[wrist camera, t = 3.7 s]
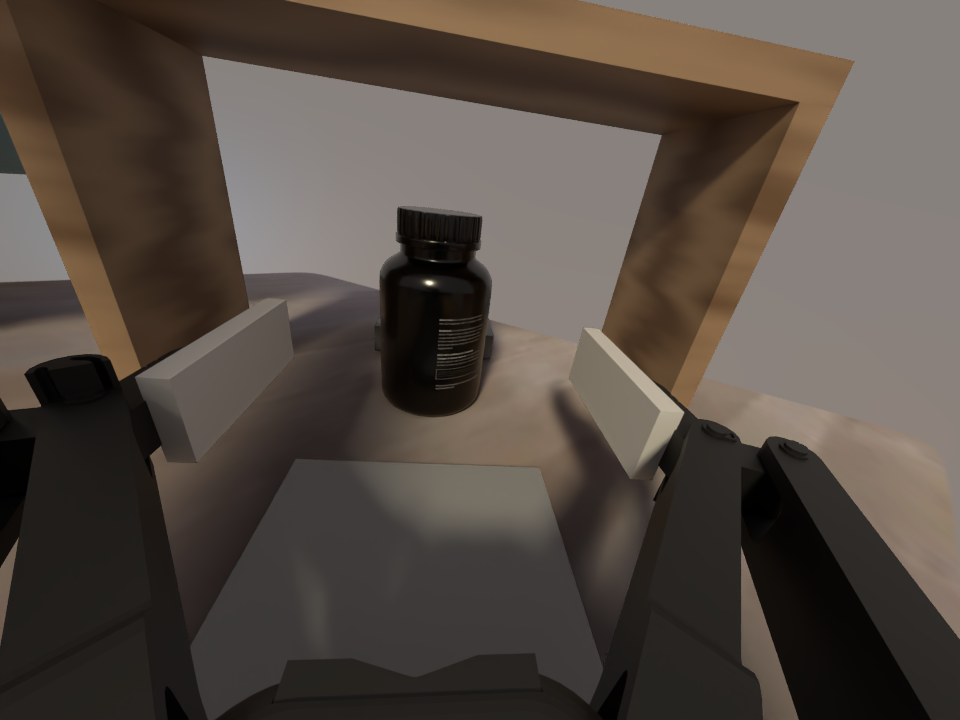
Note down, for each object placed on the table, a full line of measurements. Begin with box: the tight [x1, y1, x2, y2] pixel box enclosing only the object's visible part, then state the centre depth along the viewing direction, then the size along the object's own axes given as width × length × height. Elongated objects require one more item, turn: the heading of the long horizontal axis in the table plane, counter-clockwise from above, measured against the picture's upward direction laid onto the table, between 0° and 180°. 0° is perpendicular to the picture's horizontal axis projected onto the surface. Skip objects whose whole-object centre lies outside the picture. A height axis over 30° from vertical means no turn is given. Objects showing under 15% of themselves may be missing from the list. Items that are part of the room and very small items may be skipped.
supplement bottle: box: [380, 206, 492, 417], centre depth 22 cm, size 7×7×12 cm
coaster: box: [190, 459, 603, 720], centre depth 12 cm, size 12×12×1 cm
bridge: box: [0, 0, 854, 408], centre depth 20 cm, size 10×31×20 cm, turn 94°
